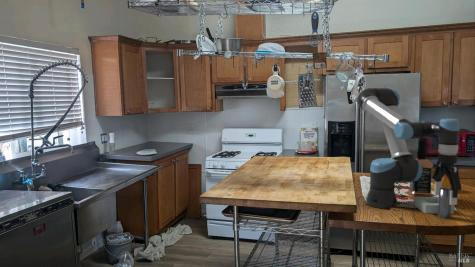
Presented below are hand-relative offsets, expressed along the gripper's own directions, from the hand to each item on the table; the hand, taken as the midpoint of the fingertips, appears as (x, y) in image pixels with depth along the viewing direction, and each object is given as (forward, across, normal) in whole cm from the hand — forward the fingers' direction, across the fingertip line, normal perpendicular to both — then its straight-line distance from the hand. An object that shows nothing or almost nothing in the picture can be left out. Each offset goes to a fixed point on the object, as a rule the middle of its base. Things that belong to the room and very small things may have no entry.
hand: (445, 199), depth 163 cm
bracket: (+9, +48, -22) cm, 54 cm away
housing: (+9, +11, 0) cm, 14 cm away
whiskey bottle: (+9, +32, -3) cm, 33 cm away
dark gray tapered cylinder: (+9, 0, 0) cm, 9 cm away
